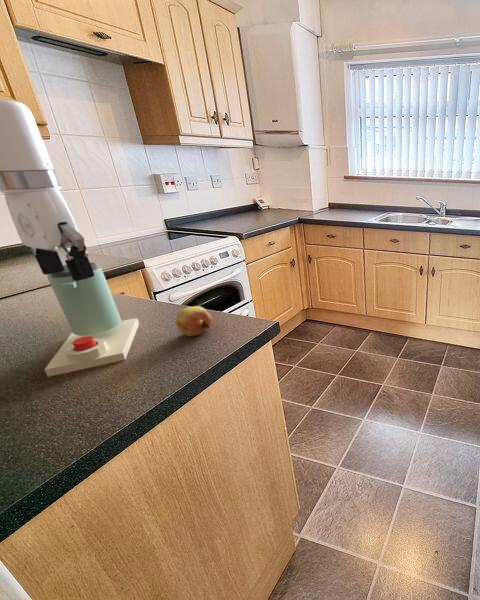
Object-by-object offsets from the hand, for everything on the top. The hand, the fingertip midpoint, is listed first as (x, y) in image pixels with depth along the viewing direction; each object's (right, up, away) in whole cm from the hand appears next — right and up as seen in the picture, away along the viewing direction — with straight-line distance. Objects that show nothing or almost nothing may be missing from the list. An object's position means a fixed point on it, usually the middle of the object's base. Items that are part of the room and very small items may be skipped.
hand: (69, 275), depth 65 cm
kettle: (-4, -11, +10) cm, 15 cm away
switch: (+1, -14, +3) cm, 15 cm away
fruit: (+16, -13, +15) cm, 25 cm away
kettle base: (-2, -15, +9) cm, 18 cm away
